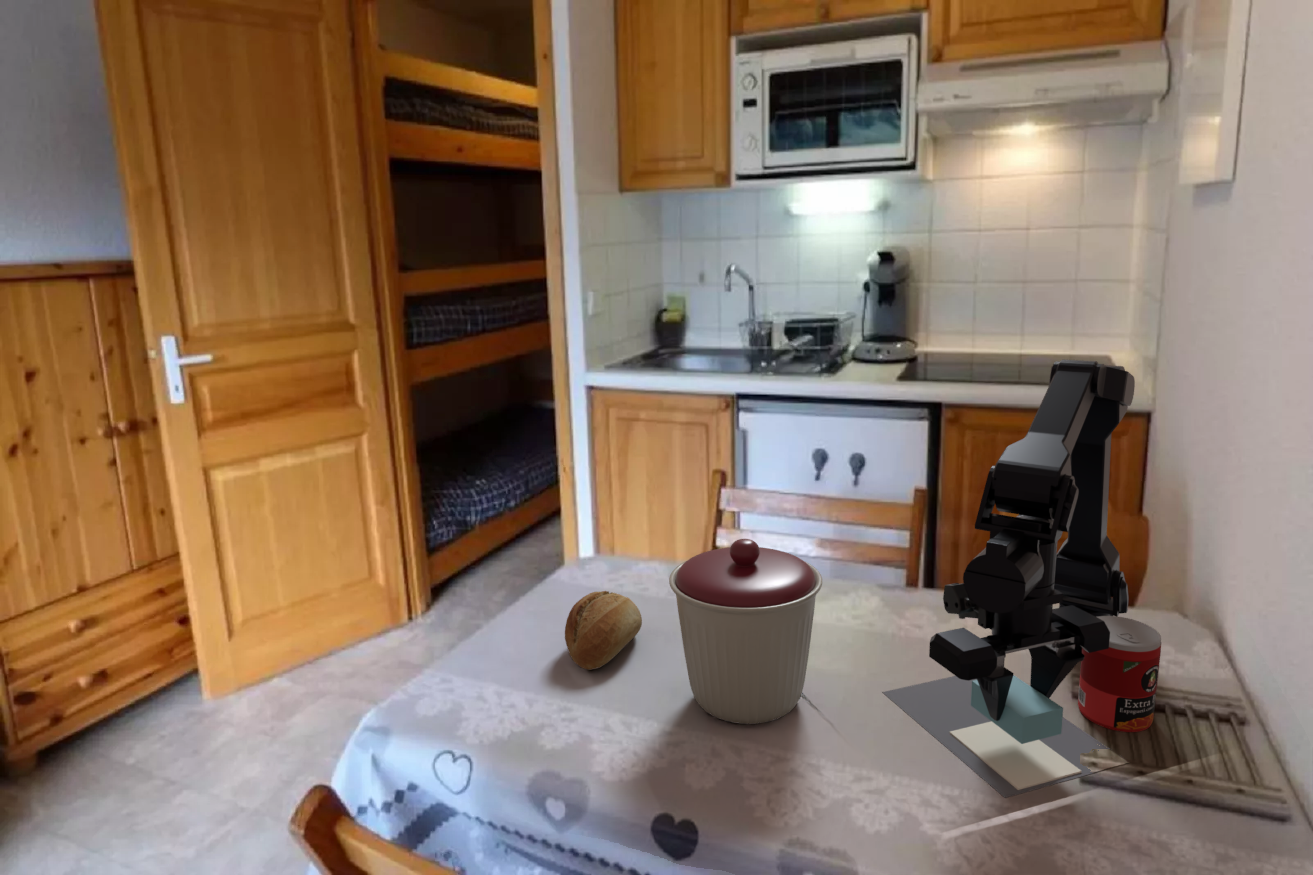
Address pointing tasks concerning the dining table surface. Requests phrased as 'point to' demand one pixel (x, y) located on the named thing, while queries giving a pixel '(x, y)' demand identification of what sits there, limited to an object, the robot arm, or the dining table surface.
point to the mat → (993, 739)
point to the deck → (1023, 712)
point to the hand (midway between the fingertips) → (1015, 713)
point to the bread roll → (600, 628)
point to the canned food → (1121, 677)
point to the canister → (746, 629)
